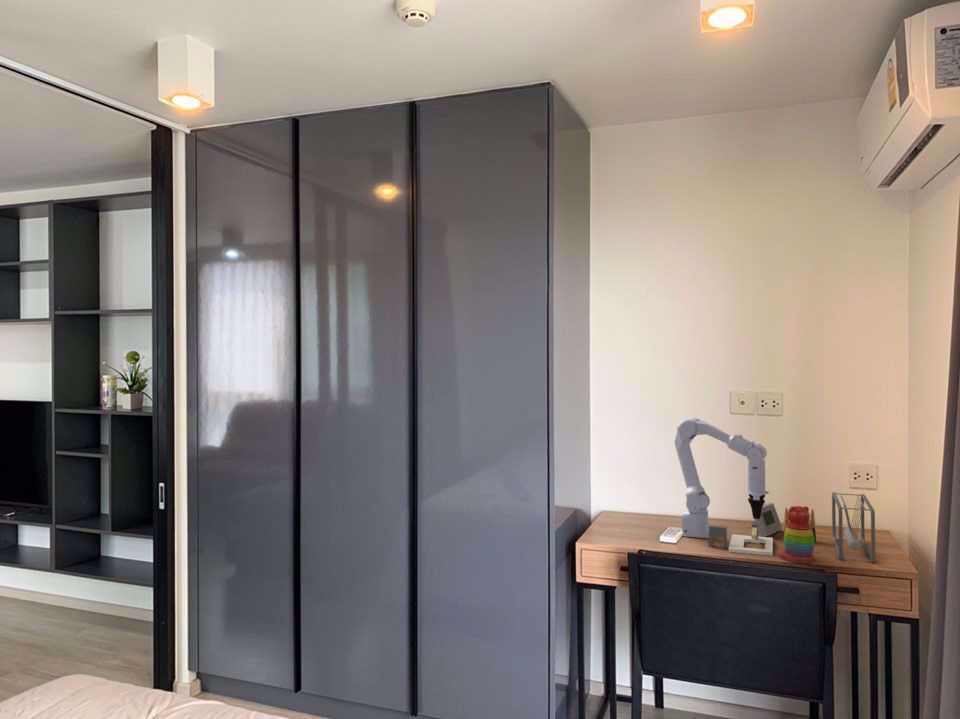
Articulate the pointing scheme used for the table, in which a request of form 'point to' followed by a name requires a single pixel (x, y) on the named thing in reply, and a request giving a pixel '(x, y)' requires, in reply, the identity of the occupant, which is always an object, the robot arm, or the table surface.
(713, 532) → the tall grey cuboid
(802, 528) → the stacking bear
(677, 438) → the robot arm
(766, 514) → the digital clock
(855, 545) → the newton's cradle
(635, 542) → the table surface
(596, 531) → the table surface
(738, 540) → the white slotted board
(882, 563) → the table surface
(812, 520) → the ammunition clip
